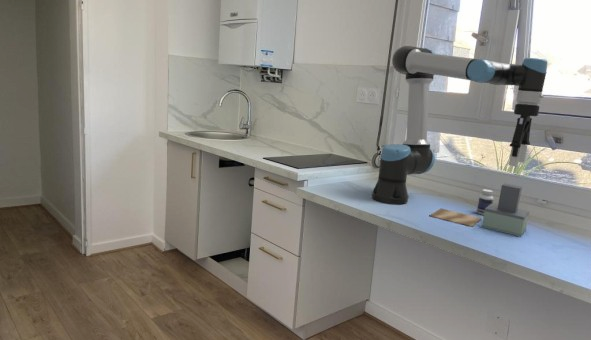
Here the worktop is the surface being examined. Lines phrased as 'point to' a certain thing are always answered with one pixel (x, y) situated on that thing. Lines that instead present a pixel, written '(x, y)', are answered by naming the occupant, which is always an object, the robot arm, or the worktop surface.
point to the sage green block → (504, 223)
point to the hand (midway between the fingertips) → (516, 164)
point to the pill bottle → (484, 201)
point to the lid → (508, 203)
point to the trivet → (456, 217)
